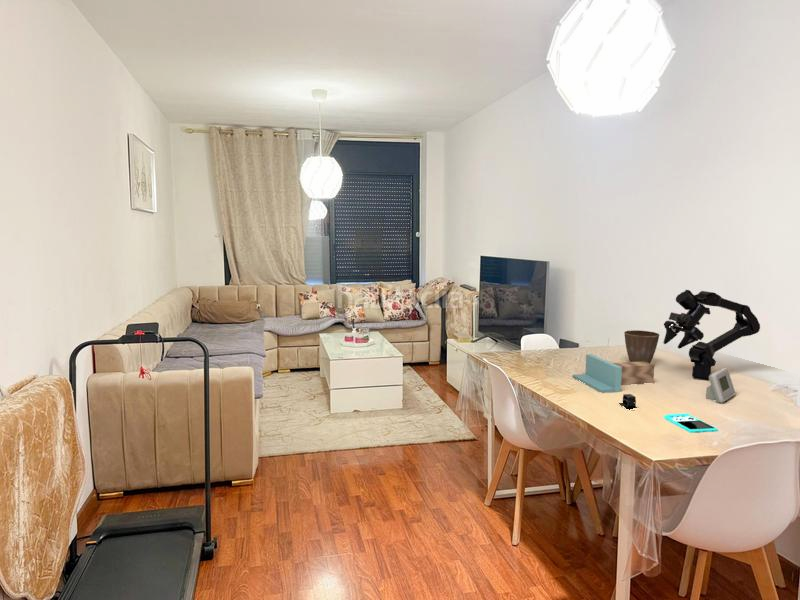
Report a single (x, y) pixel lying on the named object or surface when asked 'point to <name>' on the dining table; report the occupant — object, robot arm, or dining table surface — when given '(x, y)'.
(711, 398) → the digital clock
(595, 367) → the teal board
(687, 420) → the handheld game console
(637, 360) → the plant pot
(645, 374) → the walnut block
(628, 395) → the black block on plate
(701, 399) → the dining table surface
